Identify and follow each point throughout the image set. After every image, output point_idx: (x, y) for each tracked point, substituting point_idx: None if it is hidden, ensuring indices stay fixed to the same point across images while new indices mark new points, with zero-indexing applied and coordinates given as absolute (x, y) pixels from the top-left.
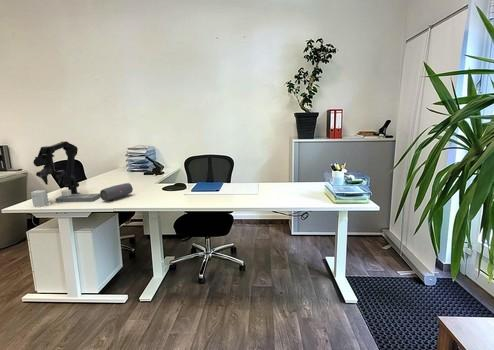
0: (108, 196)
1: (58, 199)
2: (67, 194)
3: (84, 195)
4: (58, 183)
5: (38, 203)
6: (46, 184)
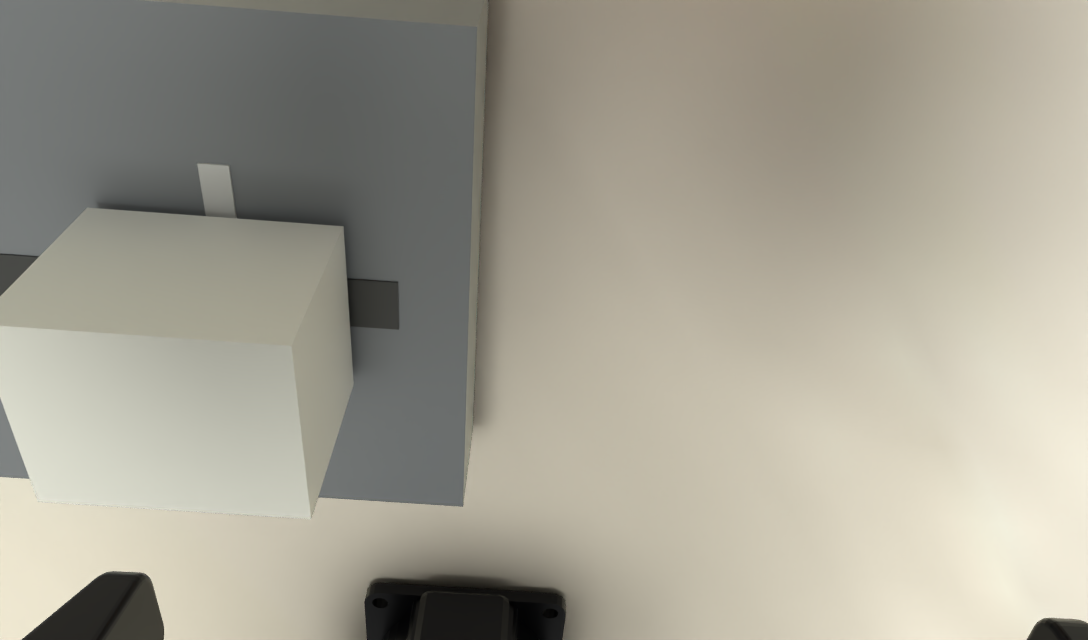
0: None
1: (348, 2)
2: (73, 247)
3: None
4: (67, 623)
5: None
6: (1062, 629)
